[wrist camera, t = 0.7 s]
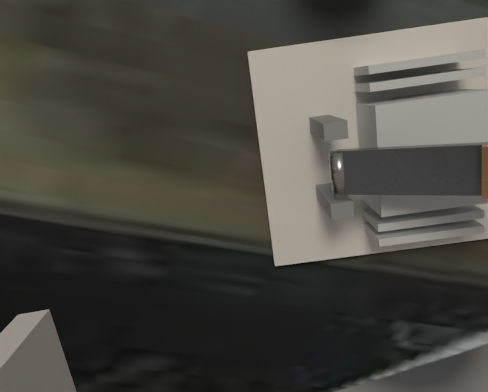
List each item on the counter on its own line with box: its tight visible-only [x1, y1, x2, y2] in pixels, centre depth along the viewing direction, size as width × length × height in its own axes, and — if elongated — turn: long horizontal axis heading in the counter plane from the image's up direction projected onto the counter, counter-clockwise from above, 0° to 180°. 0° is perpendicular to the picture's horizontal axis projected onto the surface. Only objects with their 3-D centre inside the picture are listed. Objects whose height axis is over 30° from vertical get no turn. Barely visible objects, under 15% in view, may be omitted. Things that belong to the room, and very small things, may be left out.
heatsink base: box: [247, 17, 488, 266], centre depth 31 cm, size 24×18×9 cm
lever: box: [329, 142, 488, 199], centre depth 25 cm, size 14×3×2 cm
